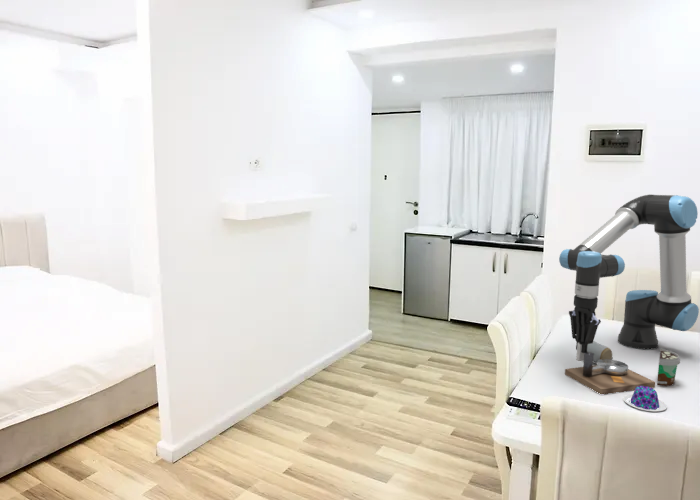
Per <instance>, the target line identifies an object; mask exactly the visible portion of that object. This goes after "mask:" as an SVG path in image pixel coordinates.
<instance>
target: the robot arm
mask: <svg viewBox="0 0 700 500" xmlns="http://www.w3.org/2000/svg"><path fill="white" fill-rule="evenodd" d="M698 213H699V212H698V207H697V205H696V203H695V201H694V200H693V199H692V198H690V197H688V196H681V195H677V194H676V195H675V194H674V195H673V194H671V195H670V194H645V195H641V196H638V197H635V198H633V199H631V200H629V201H628V202H626V203H625V204H623V205H621V206H620V207H619V208H617V210H616V211H615V213H614V216H612V217H611V218H609V220H607V221H606V222H605V223H604V224H603V225H601V226H600V227H598V229H596V230H595V231H594V232H593V233H592V234H590V235H589V236H588V237H587V238H586V239H584V240H583V241H582V242H581V243H579V244H578V246H576V247H575V248H573V249H572V248H569V249H568V248H566V249H564V250H562V251H561V252H560V254H559V261H558V262H559V265H560V266H561V267H562V268H563V269H567V270H570V271H575V273H576V274H575V281H574V282H575V284H574V295H573V296H574V297H573V306H574V309H573V310H568V315H569V318H570V326H571V337H572V339H573V340H575V341H576V342H575V343H576V345H575V349H576V356H575V357H576V359H575V360H576V361H577V362H584V352H586V351H587V346H588V344H592V343H593V341H595V337H596V334H597V330H598V328H599V325H600V324H601V322H602V321H601V319H598V318H597V317H596V315H597V314H596V309H597V307H598V300H599V299H598V296H599V292H600V291H599V288H600V279H601V278H610V277H612V278H614V277H616V276H619V275H622V274H623V272H624V271H625V268H626V264H625V260H624V259H623V258H622V257H621V256H620V255H619V254H618V255H617V254H608V255H607V254H603V252H605V250H606V249H608V248H609V247H611V246H612V244H613V245H614V244H615V242H616V241H618V239H620V238H621V237H622V236H623V235H624V234H626V233H627V232H628V231H629V230H634V229H635V228H637V227H638V226H640V225H652V226H653V227H654V228H653V229H654V233H655V234H657V235H658V236H659V237H658V245H659V270H660V271H659V273H660V274H659V275H660V277H659V278H660V279H659V280H660V292H658V291H656V290H651V289H634V290H629V291H628V292H627V293H626V296H625V301H624V302H625V303H624V314H623V315H624V317H623V324H622V327H621V329H620V331H619V334H618V336H617V342H618V343H619V344H620V345H622V346H625V347H629V348H633V349H639V350H655V349H657V348H658V347H659V339H658V335H657V332H656V326H659V327H663V328H667V329H671V330H674V331H679V332H687V331H689V330H691V329H692V328H693V326H694V325H695V324H696V322H697V320H698V317H699V310H700V309H699V306H698V305H697V304H695V302H694V303H692V295H690V294H689V293H688V292H687V251H686V249H687V246H686V239H687V238H686V235H687V234H688V233H689V232H690V231H691V229H692V227H694V226H695V225H696V223H697V219H698Z"/></svg>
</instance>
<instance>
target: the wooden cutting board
mask: <svg viewBox="0 0 700 500" xmlns="http://www.w3.org/2000/svg"><path fill="white" fill-rule="evenodd" d="M595 366H597V364H595V365H594V364H593V367H595ZM564 375H565V376H567V377H569V378H571V379H573V380H574V381H576V382H578V383H579V384H582V385H583V386H585V387H586V386H587V387H586V388H588V387H589V388H588V389H590V388H591V389H590V390H592V389H593V390H594V392H595V391H596V392H595V393H597V392H598V393H597V394H599V393H600V394H604V395H609V394H608V393H612V394H617V393H616V392H619V393H625V392H624V391H626V392H632V391H634V390H635V388H636V387H638V386H645V387H646V386H647V387H650V388H653V389H655V388H656V381H654V380H652V379H650V378H648V377H646V376H644V375H641V374H640V373H637V372H636V371H633V370H632V369H629V368H628V373H627V374H625V375H612V374H607V373H601V374H596V375H592V376H590V377H589V376H584V375H583V366H578V367H571V368H570V367H569V368H565V369H564ZM593 390H592V391H593ZM600 394H599V395H600Z"/></svg>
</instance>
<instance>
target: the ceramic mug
mask: <svg viewBox="0 0 700 500" xmlns="http://www.w3.org/2000/svg"><path fill="white" fill-rule="evenodd" d="M587 351H588V352H593V353H594V357H593V363H595V364H597V361H598V360H601V359H611V360H614V358H613V351H612V349H611V348H610V347H608V346H606V345H603V344H602V343H599V342H597V341H595V340H594V341H593V343H592V344H588V346H587Z"/></svg>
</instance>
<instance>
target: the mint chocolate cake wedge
mask: <svg viewBox="0 0 700 500" xmlns="http://www.w3.org/2000/svg"><path fill="white" fill-rule="evenodd" d="M680 364H681V360H680V356H679V354H678V353H677V352H674V351H671V350H669V349H668V350H667V349H664V348H660V349H659V360H658V370H657V378H656V379H657V381H656V386H660V387H661V386H662V387H671V386H674V385H675V379H676V374H677V369H678V365H680Z"/></svg>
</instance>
